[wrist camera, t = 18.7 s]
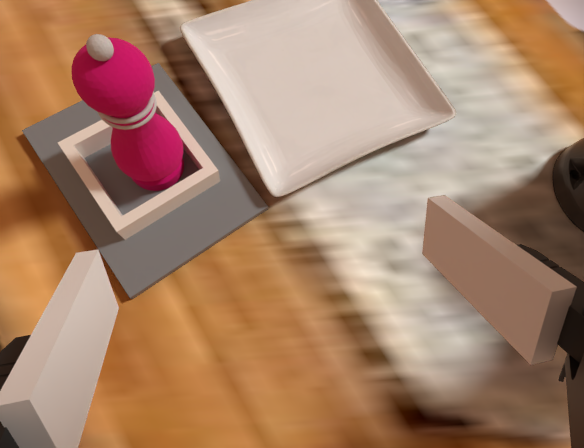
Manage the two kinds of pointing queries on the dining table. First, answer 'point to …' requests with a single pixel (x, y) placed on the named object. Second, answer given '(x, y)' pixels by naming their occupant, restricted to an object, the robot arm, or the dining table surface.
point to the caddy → (144, 203)
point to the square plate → (314, 83)
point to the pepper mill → (129, 110)
